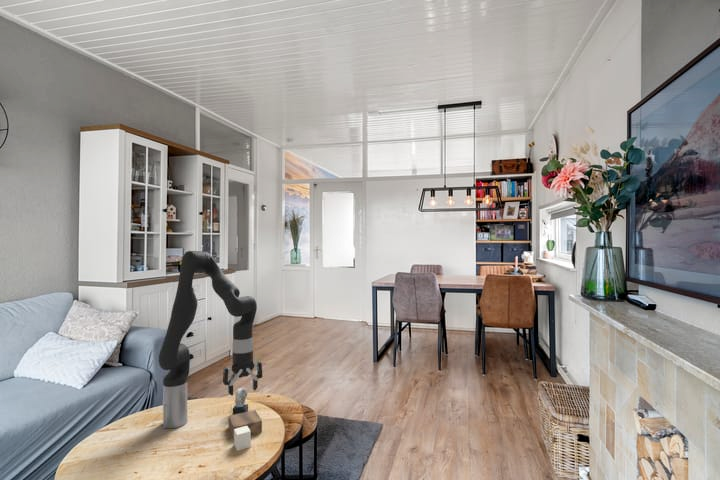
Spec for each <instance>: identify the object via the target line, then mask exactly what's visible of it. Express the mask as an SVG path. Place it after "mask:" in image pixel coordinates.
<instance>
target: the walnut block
mask: <svg viewBox="0 0 720 480" xmlns="http://www.w3.org/2000/svg"><path fill="white" fill-rule="evenodd" d="M244 426H248V428H249V429H250V431H251V435H255V434H260V433H262V432H263V420H262V418H261V417H260V415H259V414H258V411H257V410H256V409H253V410H248V412H244V413H239V414H235V415H233V414H231V415H228V429H229V432H230V433H231V437H232V438H233V439H234V429H236V428H240V427H244Z"/></svg>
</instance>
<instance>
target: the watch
mask: <svg viewBox="0 0 720 480" xmlns="http://www.w3.org/2000/svg"><path fill="white" fill-rule="evenodd" d="M248 393H249V391H248V389H247V388H245V387H239V388H237V390H236V391H235V399H234V400H235V401H234V403H235V405H234V406H233V407H232V415H235V414H239V413H244V412H248V411H249V404H248V403H247V404H245V403H246V399H247V396H248Z"/></svg>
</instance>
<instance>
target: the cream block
mask: <svg viewBox="0 0 720 480" xmlns="http://www.w3.org/2000/svg"><path fill="white" fill-rule="evenodd" d="M251 438H252V436H251V431H250V429H249V428H248V426H244V427H240V428H236V429H234V438H233V445H234V448H235V451H237V452H238V451H242V450H245V449H249V448H251V446H252V444H251V443H252V441H251Z"/></svg>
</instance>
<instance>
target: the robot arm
mask: <svg viewBox="0 0 720 480" xmlns="http://www.w3.org/2000/svg"><path fill="white" fill-rule="evenodd" d="M195 274H206V275H207V276H208V277H209V278H210V279H211V286H212V289H213V291H214V292H215V294H216V295H217V296H218V297H219V298H220V299H221V300H222V301H223V303H224V305H225V307H226V310H227V312H228V314H229V315H230V316H232V317H235V318H237V317H240V320H239V321H236V322H235V323H234V324H233V327H232V353H231V354H232V365H231V367H226V366H224V368H223V369H222V370H223V372H222V373H223V375H222V384H224V386H227V387H228V388H227V392H228V394H229V395H230V396H234V384H235V382H236V381H237V380H238V378H244V377H248V376H251V377H252V390H253V391H256V390H257V389H258V383H259V382H258V381H259V380H260V379H261V378H263V364H262V362H261V361H259V360H258V361H256V362H254V340H253V325H254V322H255V317H256V314H257V309H258V307H257V301H256V299H255V298H254V297H253V296H251V295H246V296H240V289H239V288H238V287H237V285H235V284H234V283H233V282H232V281H231V280H230V279H229V278H228V277H227V275H226V274H225V273H224V272H223V270H222V268H221V267H220V266H219V265H218V263H217V262H216V260H215V259H214V257H213V256H212V254H210V253H209V252H207V251H201V250H188V251H186V252H185V253H184V254H183V255H182V259H181V262H180V268H179V277H178V283H177V289H176V292H175V293H176V294H175V296H174V297H175V298H174V301H173V305H172V309H171V313H170V319H169V323H168V327H167V328H166V329H167V330H166V333H165V337H164V340H163V343H162V345H161V348H160V351H159V354H158V365H159V366H160V368H161V369H162V370H164V371H169V372H168V373H167V374H166V375H165V376H164V377H163V381H162V388H163V389H162V393H163V394H162V397H163V398H162V426H163V430H166V429H175V428H179V427H181V426H184V425H186V424H187V423H188V377H189V375H190V368H191V367H190V364H191V355H190V354H191V353H190V349H189V347H188V346H187V345H186V344H184V343H181V342H182V339H183V337H184V336H185V334H186V332H187V331H188V330H189V329H190V327H191V325H192V324H193V322H194V319H195V317H196V314H197V310H198V309H197V308H198V298H197V296H196V293H195V291H194V288H193V280H194V276H195ZM254 368H256V370H257V374H255V373H254V372H253V370H254ZM231 371H232V372H233V373H232V374H231ZM229 374H231V376H230V378H229Z"/></svg>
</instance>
